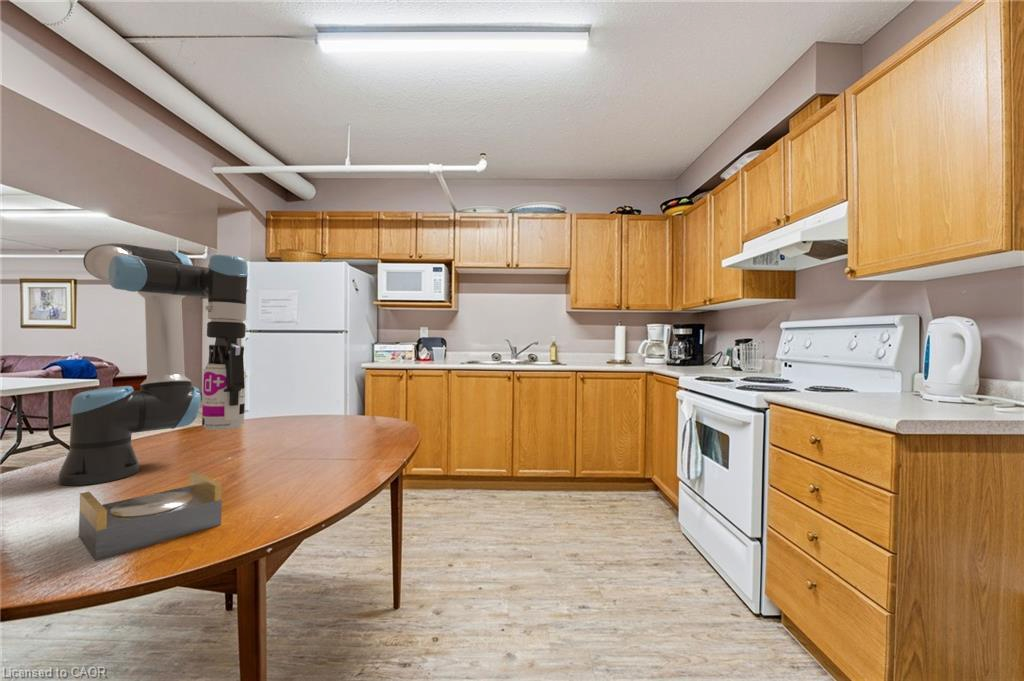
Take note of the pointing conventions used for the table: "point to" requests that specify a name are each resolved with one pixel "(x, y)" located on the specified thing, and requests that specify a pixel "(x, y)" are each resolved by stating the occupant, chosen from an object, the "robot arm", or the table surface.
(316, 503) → the table surface
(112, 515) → the grey boxy piece
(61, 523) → the table surface
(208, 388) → the supplement can
